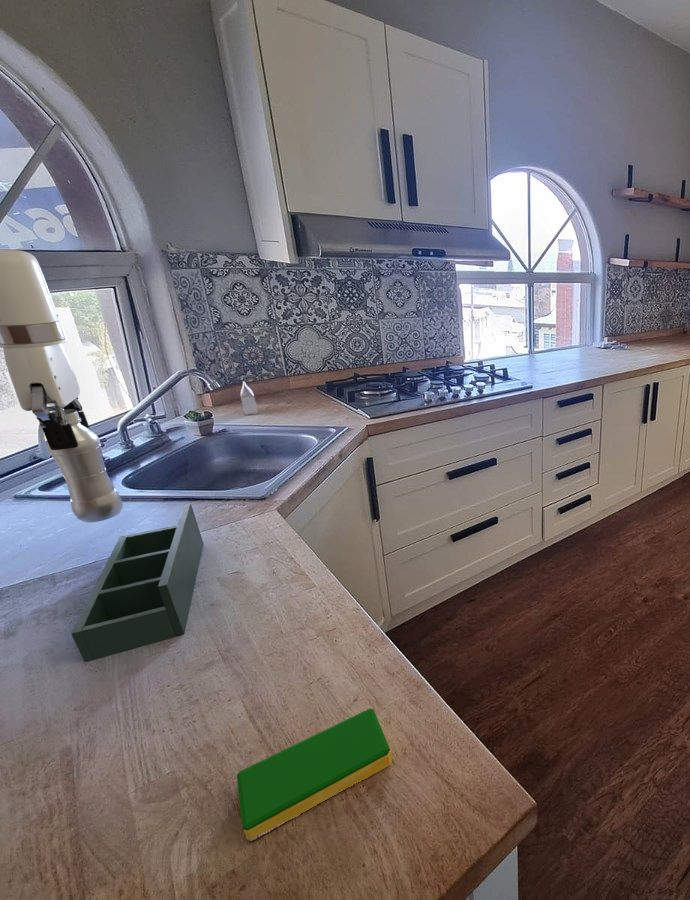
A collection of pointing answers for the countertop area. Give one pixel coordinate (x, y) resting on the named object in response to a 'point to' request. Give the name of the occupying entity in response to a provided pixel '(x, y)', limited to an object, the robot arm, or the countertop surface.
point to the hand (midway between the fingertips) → (71, 440)
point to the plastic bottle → (87, 474)
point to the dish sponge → (311, 772)
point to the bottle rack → (142, 590)
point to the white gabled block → (248, 400)
